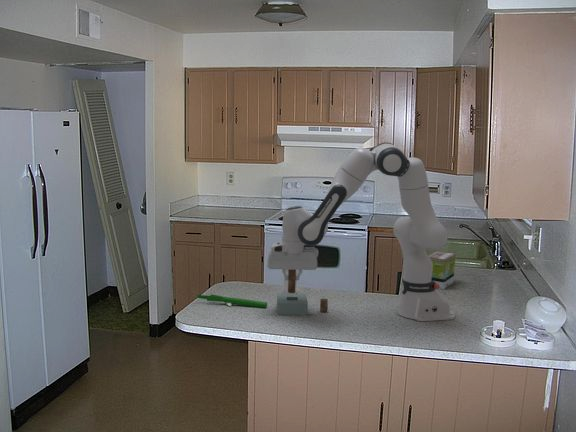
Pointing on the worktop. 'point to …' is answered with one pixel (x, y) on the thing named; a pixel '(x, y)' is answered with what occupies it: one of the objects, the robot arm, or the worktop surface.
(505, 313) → the worktop surface
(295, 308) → the hole block
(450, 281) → the tea box
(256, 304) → the green onion
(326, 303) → the short peg
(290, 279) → the long peg
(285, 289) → the water bottle
